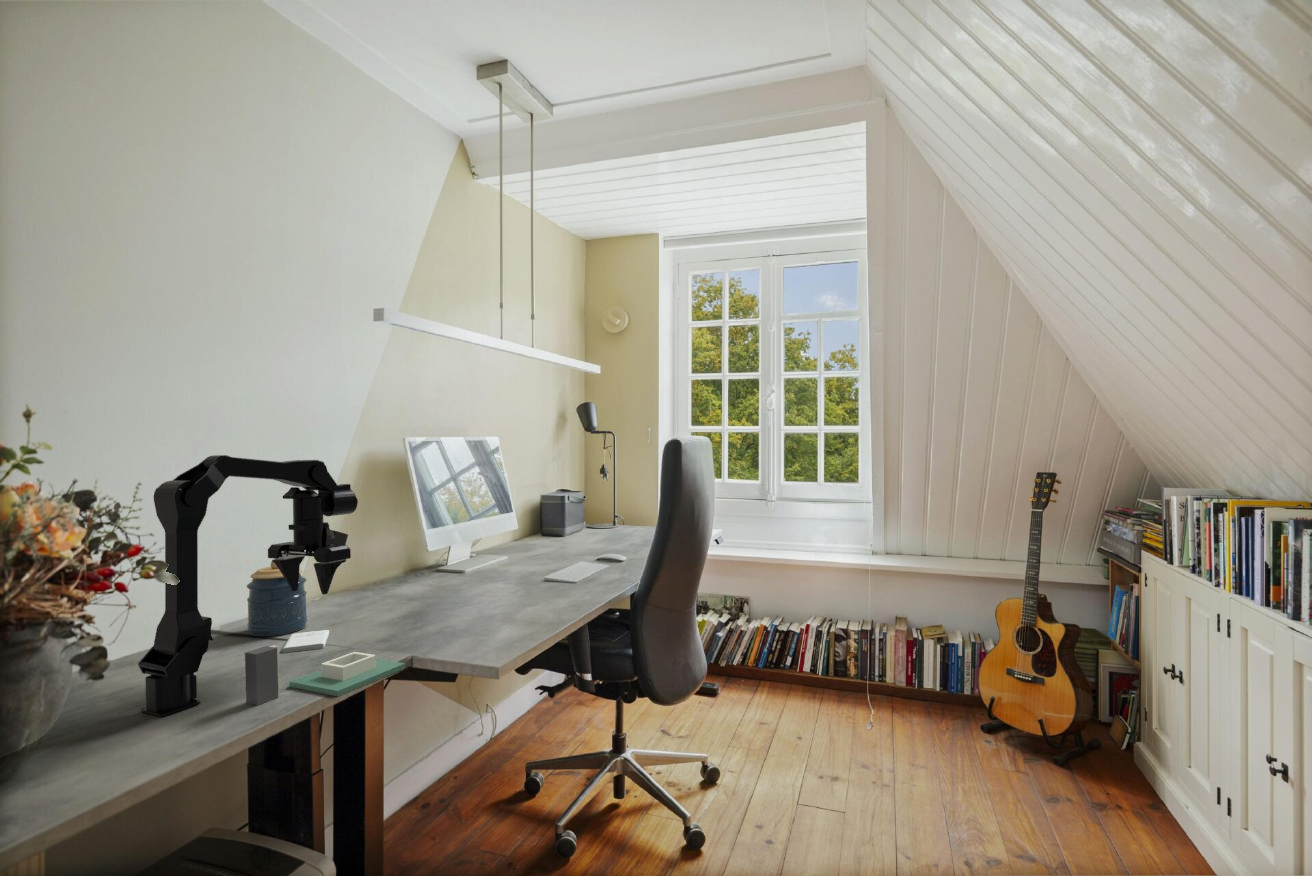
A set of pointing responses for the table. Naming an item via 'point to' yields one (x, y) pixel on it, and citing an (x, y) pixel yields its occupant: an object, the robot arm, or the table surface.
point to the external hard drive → (306, 641)
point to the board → (347, 674)
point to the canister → (275, 603)
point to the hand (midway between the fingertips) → (309, 592)
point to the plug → (262, 675)
